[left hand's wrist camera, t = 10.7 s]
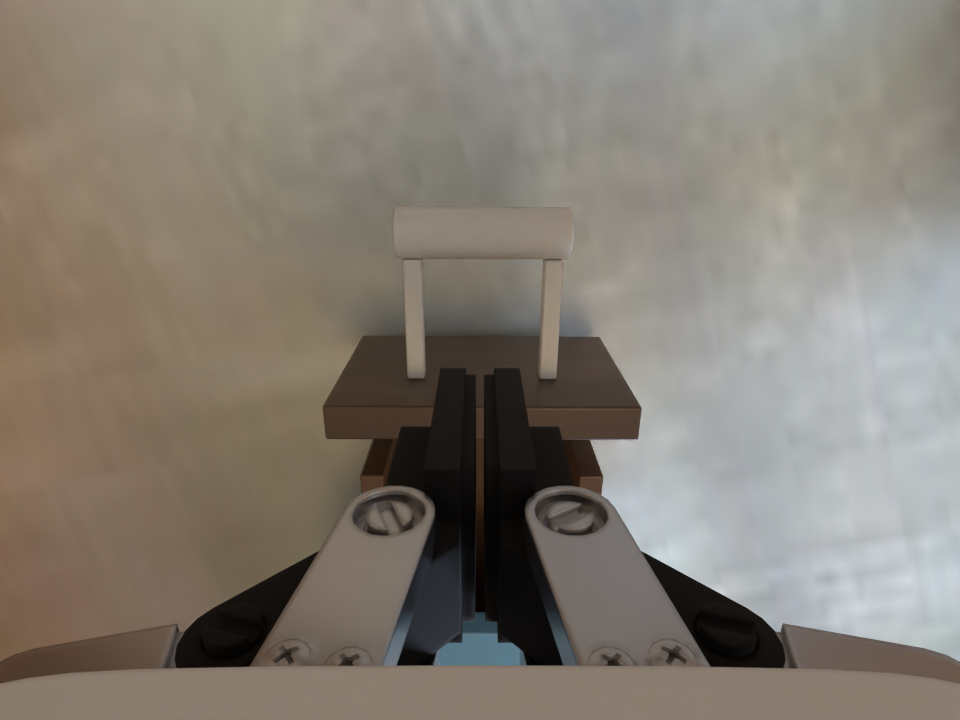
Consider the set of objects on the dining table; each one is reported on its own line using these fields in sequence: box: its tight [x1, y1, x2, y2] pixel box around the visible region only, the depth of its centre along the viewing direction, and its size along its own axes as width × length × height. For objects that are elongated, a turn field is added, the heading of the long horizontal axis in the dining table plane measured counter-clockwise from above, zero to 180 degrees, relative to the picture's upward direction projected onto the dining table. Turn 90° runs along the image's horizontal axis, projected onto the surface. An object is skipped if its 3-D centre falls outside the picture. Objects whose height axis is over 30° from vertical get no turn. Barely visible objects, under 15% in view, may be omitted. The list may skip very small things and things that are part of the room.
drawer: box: [323, 207, 641, 612], centre depth 24 cm, size 26×10×7 cm, turn 0°
